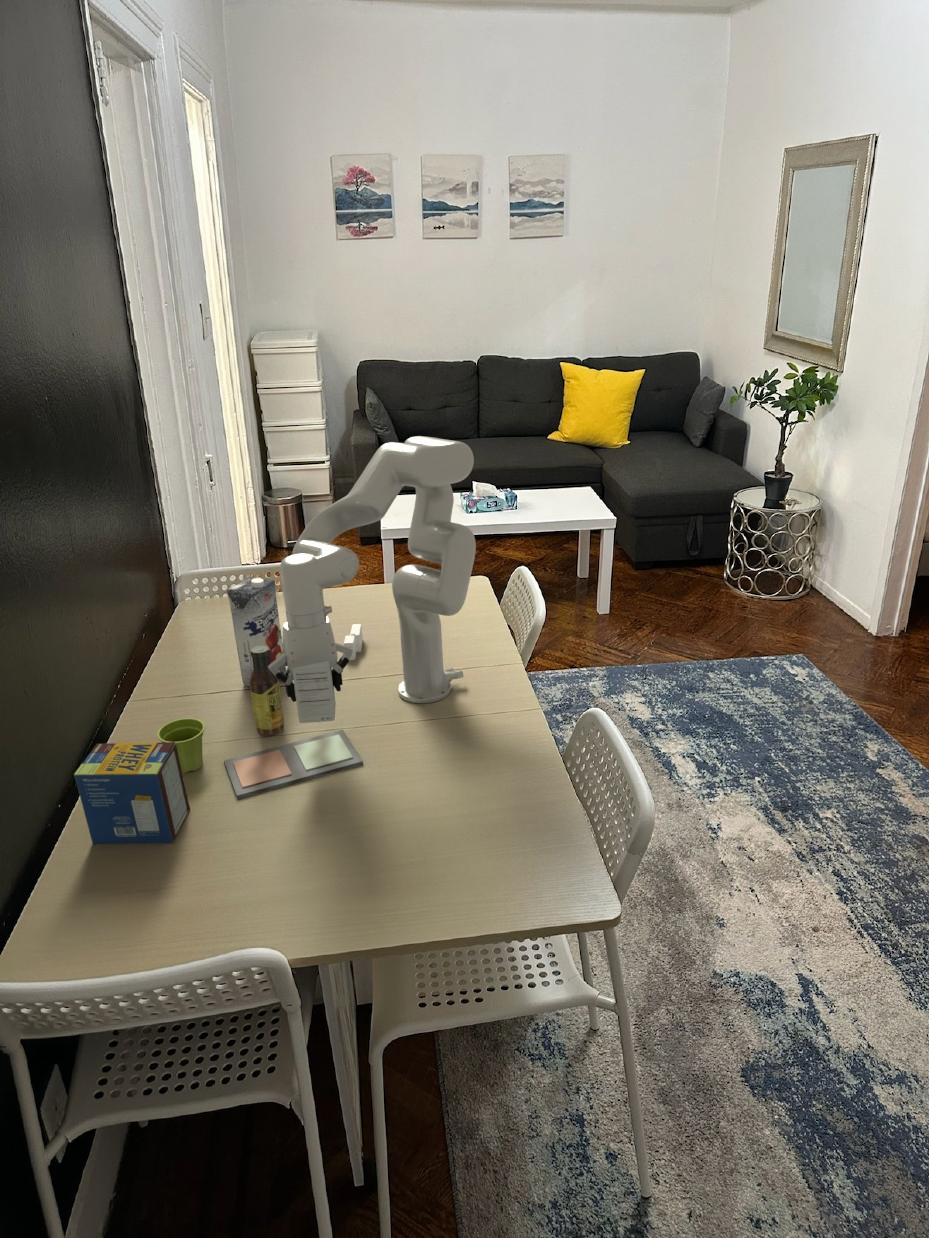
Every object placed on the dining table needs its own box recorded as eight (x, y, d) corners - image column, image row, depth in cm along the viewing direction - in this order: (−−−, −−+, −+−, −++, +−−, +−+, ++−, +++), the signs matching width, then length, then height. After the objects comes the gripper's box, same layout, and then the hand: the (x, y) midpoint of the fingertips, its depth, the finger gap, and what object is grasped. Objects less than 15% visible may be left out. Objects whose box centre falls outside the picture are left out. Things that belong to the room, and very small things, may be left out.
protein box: (113, 810, 172) (96, 742, 166) (191, 809, 172) (177, 741, 165) (90, 845, 163) (72, 774, 157) (173, 844, 162) (157, 773, 156)
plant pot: (219, 756, 188) (213, 721, 185) (193, 781, 180) (186, 745, 177) (182, 750, 191) (175, 715, 188) (155, 774, 183) (147, 738, 180)
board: (343, 732, 195) (342, 728, 195) (363, 764, 183) (362, 759, 183) (224, 763, 186) (223, 759, 185) (237, 798, 174) (236, 794, 174)
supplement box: (301, 706, 186) (294, 652, 181) (336, 703, 186) (330, 649, 181) (298, 724, 179) (290, 668, 174) (335, 721, 179) (328, 666, 174)
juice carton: (237, 687, 216) (220, 585, 205) (262, 668, 225) (246, 569, 214) (268, 692, 213) (252, 589, 202) (291, 673, 222) (278, 573, 211)
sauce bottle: (278, 738, 194) (266, 657, 186) (252, 736, 195) (239, 655, 187) (289, 722, 200) (278, 643, 192) (263, 720, 201) (251, 642, 193)
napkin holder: (356, 637, 241) (354, 617, 239) (387, 646, 235) (385, 627, 232) (316, 658, 230) (314, 638, 228) (348, 669, 224) (346, 648, 222)
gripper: (342, 601, 180) (350, 676, 187) (257, 618, 174) (269, 695, 181) (354, 614, 174) (361, 692, 181) (266, 632, 167) (277, 712, 174)
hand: (315, 693), depth 181 cm, fingers closed on supplement box, 8 cm apart
